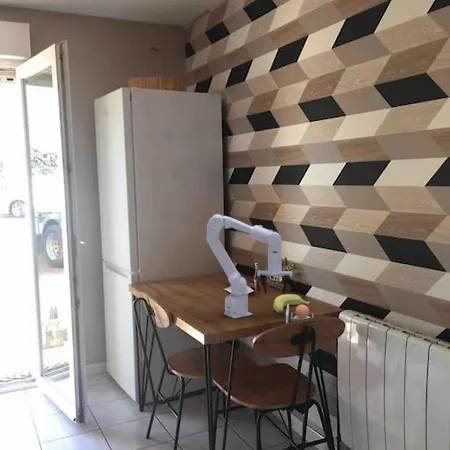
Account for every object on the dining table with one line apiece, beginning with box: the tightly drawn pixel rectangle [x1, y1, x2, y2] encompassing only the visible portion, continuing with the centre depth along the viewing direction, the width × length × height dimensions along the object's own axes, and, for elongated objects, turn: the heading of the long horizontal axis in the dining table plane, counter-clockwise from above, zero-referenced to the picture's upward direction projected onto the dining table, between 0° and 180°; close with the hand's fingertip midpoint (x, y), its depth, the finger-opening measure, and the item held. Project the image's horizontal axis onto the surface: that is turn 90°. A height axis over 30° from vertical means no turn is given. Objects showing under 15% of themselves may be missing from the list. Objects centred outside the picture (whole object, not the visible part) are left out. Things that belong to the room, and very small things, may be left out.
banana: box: [273, 293, 311, 314], centre depth 217 cm, size 14×6×20 cm
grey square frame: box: [290, 311, 315, 322], centre depth 202 cm, size 9×9×1 cm
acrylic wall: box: [285, 304, 290, 325], centre depth 202 cm, size 16×1×4 cm, turn 171°
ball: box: [295, 304, 310, 318], centre depth 201 cm, size 6×6×6 cm
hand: (274, 293), depth 206 cm, fingers open, 7 cm apart
